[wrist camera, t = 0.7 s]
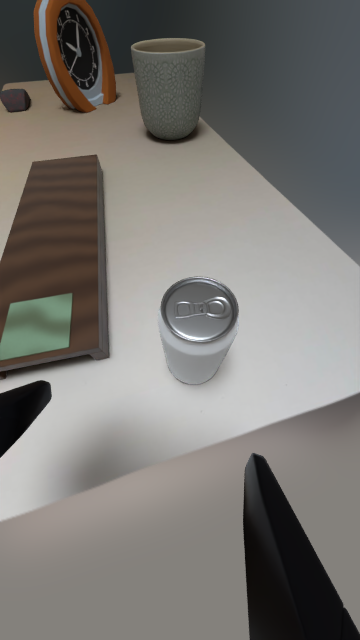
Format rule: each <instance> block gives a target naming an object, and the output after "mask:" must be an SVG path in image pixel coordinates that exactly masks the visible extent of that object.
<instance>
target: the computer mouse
mask: <svg viewBox="0 0 360 640" xmlns="http://www.w3.org/2000/svg"><path fill="white" fill-rule="evenodd" d="M0 99H1V101H2V103H3V105H4V106H5V107H6V109H7V110H8V111H9V112H16V111H24V110H26V109H27V108H28V105H29V101H30V97H29V95H28V93H27V92H26V91H25V90H24V89H10V90H5V91H1V92H0Z"/></svg>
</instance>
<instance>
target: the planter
mask: <svg viewBox="0 0 360 640" xmlns="http://www.w3.org/2000/svg"><path fill="white" fill-rule="evenodd" d="M131 52H132V59H133V65H134V72H135V79H136V85H137V91H138V97H139V103H140V109H141V114H142V118H143V121H144V124H145V126H146V127H147V129H148V130H149V131H150V132H151V133H152V134H153V135H154V136H156V137H158V138H160V139H165V140H175V139H181V138H184V137H186V136H187V135H189V134H190V133H191V132H192V131H193V130H194V128H195V127H196V125H197V123H198V120H199V116H200V108H201V97H202V96H201V94H202V84H203V72H204V57H205V44H204V43H203V42H201V41H198V40H193V39H184V38H165V39H153V40H146V41H141V42H138V43H135V44H133V45H132V46H131Z"/></svg>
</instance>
